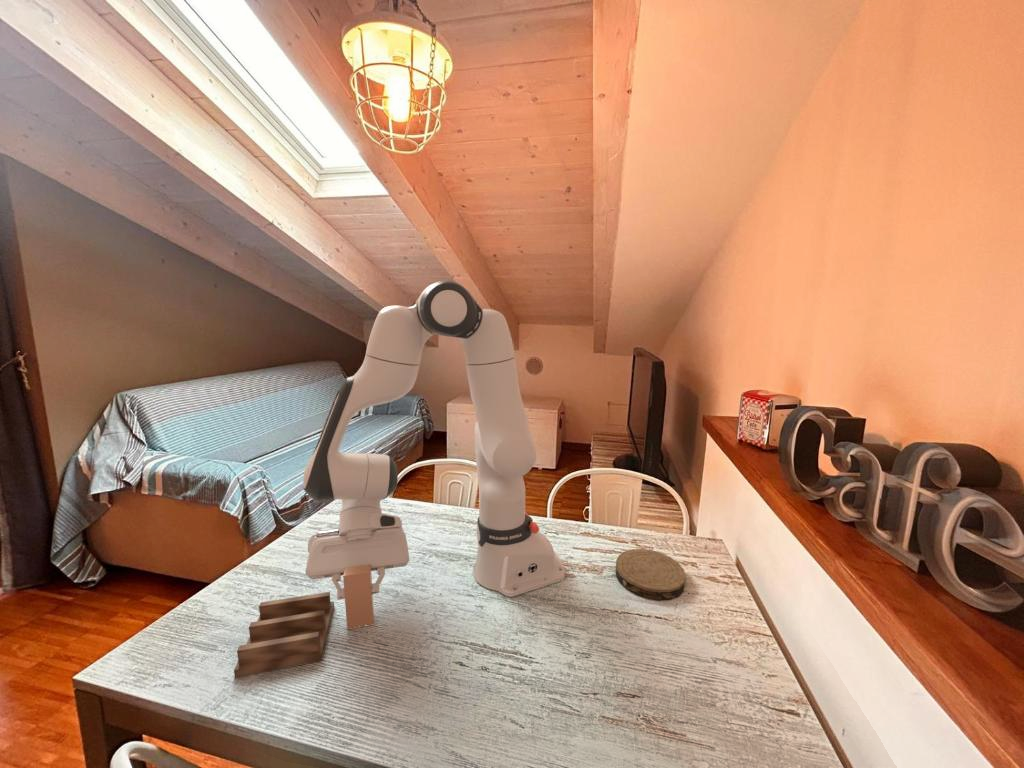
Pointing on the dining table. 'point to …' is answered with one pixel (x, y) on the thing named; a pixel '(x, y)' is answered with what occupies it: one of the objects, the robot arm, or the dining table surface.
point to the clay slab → (358, 596)
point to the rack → (286, 634)
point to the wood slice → (650, 574)
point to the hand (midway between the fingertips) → (358, 596)
